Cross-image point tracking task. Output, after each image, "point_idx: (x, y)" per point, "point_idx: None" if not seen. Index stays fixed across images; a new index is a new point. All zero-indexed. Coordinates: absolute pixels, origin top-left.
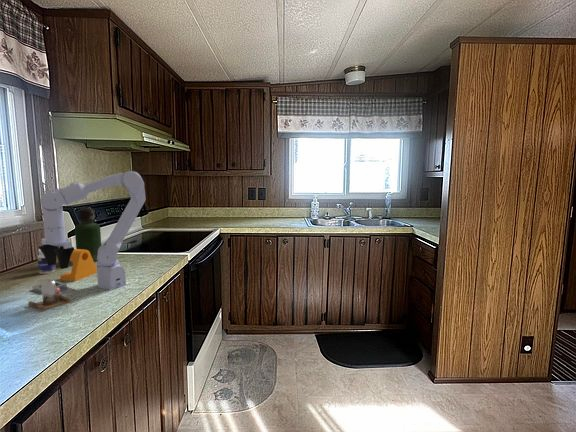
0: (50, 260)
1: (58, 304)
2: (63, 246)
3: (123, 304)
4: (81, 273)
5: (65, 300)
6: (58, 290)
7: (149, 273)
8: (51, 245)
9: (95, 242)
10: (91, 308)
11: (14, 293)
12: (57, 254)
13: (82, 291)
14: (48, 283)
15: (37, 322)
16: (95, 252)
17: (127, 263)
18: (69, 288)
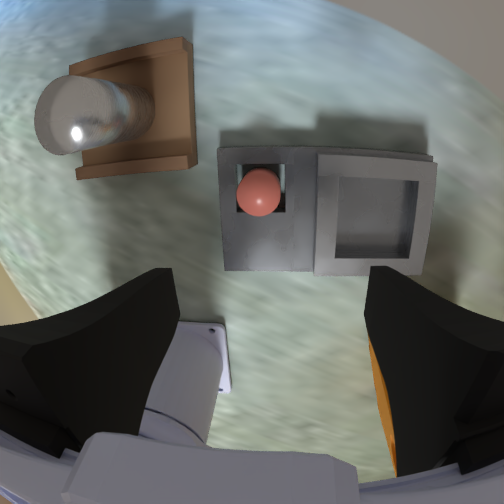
0: (383, 307)
1: None
2: (24, 444)
3: (11, 274)
4: (377, 374)
5: (94, 164)
6: (239, 199)
7: None
8: (431, 465)
9: None
10: (27, 205)
11: (477, 117)
12: (50, 325)
13: (226, 285)
14: (37, 108)
15: (42, 48)
16: None
17: (380, 469)
18: (282, 265)
